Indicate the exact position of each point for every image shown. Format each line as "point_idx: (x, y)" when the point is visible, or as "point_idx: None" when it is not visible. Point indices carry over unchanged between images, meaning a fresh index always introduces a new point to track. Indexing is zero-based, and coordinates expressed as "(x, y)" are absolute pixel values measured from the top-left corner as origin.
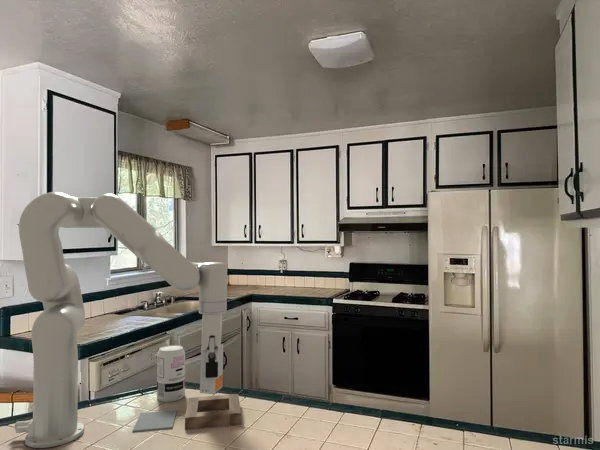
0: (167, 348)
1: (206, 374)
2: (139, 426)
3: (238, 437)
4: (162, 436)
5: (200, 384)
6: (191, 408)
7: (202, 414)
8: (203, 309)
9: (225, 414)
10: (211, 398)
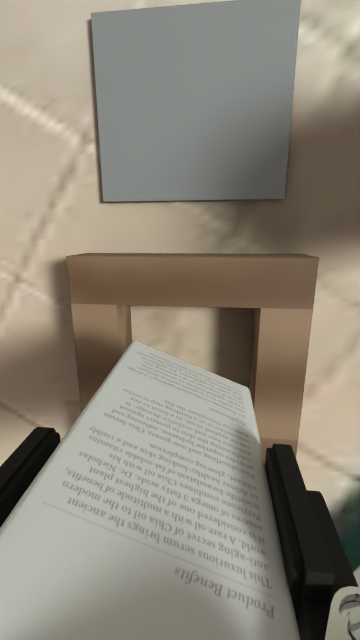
0: None
1: (26, 445)
2: (130, 38)
3: (18, 417)
4: (43, 171)
5: (117, 362)
6: (166, 278)
7: (91, 327)
8: None
9: (81, 410)
10: (272, 366)
